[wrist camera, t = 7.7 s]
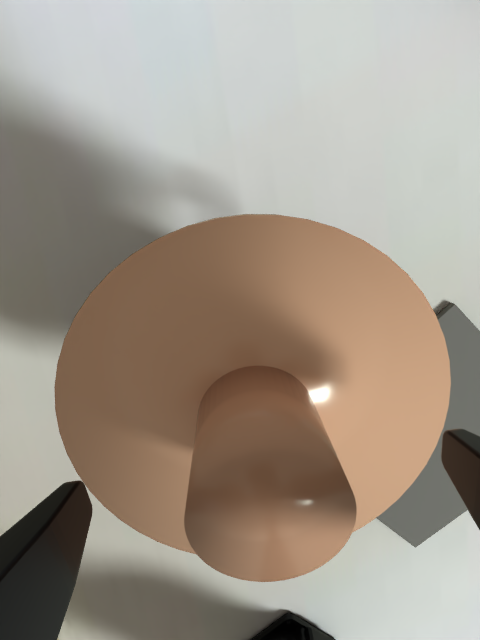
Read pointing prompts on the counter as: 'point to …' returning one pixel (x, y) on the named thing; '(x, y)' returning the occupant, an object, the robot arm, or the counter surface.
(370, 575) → the counter surface
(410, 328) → the terracotta lid
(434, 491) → the rubber mat
